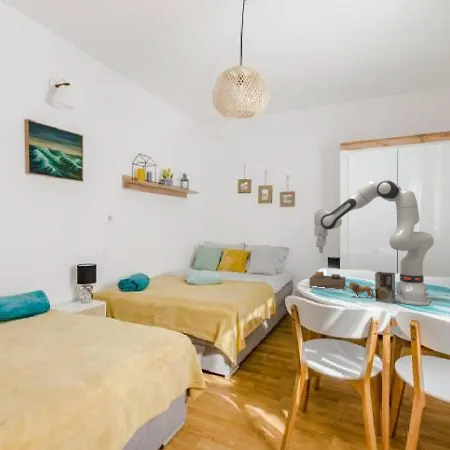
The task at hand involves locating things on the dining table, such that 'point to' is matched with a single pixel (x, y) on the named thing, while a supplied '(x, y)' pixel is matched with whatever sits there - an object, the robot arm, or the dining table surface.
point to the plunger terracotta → (319, 274)
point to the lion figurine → (360, 289)
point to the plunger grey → (335, 276)
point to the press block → (327, 282)
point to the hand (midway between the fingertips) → (321, 252)
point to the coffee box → (385, 287)
